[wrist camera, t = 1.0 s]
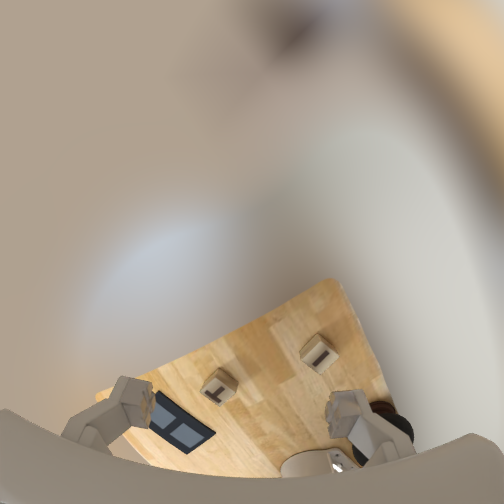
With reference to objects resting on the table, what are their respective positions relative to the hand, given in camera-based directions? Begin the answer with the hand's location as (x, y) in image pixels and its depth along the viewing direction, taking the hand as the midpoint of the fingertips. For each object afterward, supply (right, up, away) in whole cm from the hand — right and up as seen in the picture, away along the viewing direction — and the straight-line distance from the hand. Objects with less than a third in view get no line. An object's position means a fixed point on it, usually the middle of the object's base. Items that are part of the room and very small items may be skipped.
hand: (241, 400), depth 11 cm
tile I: (+13, -12, +38) cm, 42 cm away
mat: (-17, -33, +41) cm, 56 cm away
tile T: (-6, -20, +40) cm, 45 cm away
